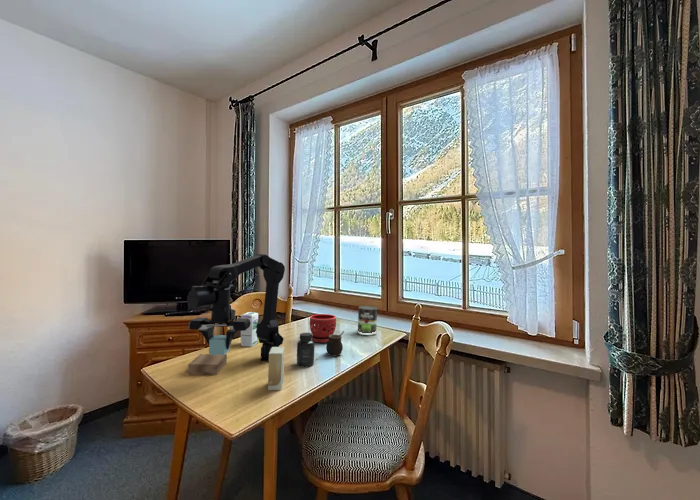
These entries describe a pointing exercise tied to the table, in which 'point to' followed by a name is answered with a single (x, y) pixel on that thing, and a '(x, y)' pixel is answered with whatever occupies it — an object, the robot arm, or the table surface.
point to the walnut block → (207, 364)
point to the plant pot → (322, 327)
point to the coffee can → (367, 319)
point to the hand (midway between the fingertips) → (219, 349)
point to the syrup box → (250, 330)
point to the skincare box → (276, 368)
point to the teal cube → (218, 345)
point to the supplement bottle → (305, 350)
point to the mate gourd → (334, 345)
